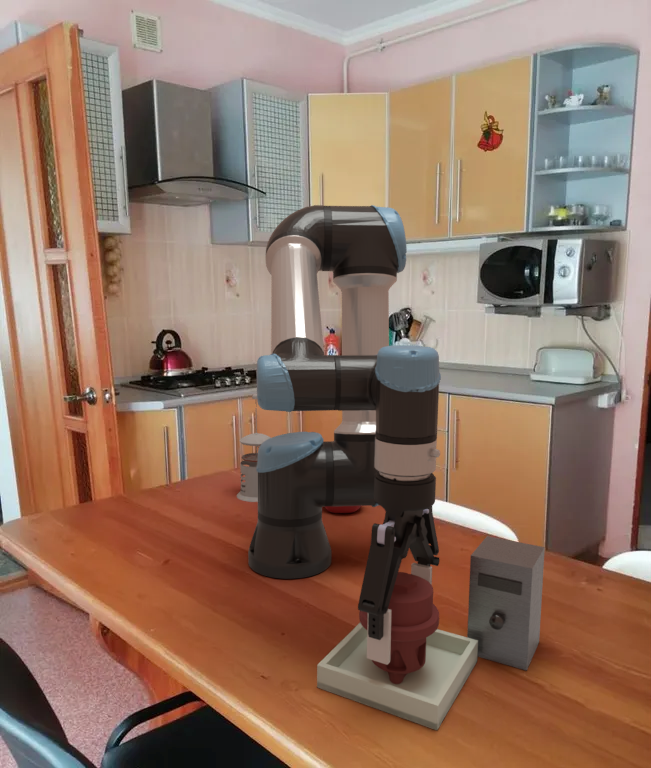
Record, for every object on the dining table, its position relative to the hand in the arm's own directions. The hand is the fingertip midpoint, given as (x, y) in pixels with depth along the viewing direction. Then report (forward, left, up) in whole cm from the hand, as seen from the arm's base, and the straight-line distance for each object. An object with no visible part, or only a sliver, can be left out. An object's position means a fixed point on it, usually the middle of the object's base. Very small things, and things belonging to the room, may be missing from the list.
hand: (400, 633), depth 81 cm
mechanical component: (0, 0, -5) cm, 5 cm away
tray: (0, 0, -6) cm, 6 cm away
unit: (+10, +13, -6) cm, 17 cm away
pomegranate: (-36, +52, -6) cm, 64 cm away
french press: (-59, +51, -6) cm, 78 cm away
